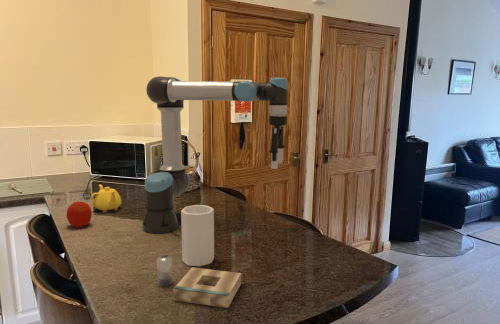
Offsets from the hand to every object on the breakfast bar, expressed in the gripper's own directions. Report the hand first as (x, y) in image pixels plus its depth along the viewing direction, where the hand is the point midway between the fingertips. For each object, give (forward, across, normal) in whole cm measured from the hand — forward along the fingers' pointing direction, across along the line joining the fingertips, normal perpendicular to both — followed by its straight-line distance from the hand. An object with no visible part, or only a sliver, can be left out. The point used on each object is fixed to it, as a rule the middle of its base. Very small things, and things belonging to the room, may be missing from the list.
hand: (277, 165), depth 163 cm
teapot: (+28, +5, +87) cm, 91 cm away
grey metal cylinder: (+28, -57, +25) cm, 69 cm away
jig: (+28, -60, +10) cm, 66 cm away
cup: (+28, -39, +21) cm, 53 cm away
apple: (+28, -19, +84) cm, 90 cm away
